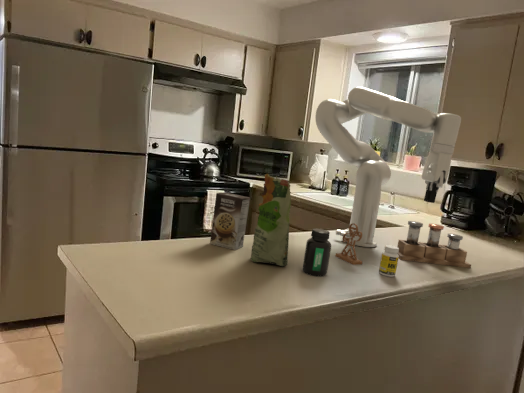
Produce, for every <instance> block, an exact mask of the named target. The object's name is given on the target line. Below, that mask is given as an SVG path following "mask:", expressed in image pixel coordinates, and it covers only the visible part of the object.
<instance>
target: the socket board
mask: <svg viewBox="0 0 524 393" xmlns="http://www.w3.org/2000/svg"><path fill="white" fill-rule="evenodd" d="M406 241H407V239H398V242H397V246H396V247H398V248H399V252H398V253H397V254H398V255H399V258H398V260H401V261H410V262H416V263H417V262H418V263H425V264H426V263H427V264H435V265H440V266H441V265H443V266H451V267H459V268H465V269H466V268H467V269H471V268H472V264H471V263H469V262H468V261H466V260H467V256H468V255H467V254H468V251H467V250H465V249H462V248H461V247H459V250H453V249H448V248H447V245H448V244H439V245H438V248H436V247H429V246H427V242H423V241H422V242H421V241H418V244H417V245H412V244H407V243H406Z"/></svg>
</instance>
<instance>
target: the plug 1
mask: <svg viewBox="0 0 524 393" xmlns="http://www.w3.org/2000/svg"><path fill="white" fill-rule="evenodd" d="M407 225H408V231H407V235H406V236H407V237H406V240H407V241H406V243H407V244H412V245H417V244H418V242H419V237H420V233H421V228H423V226H424V223H422V222H419V221H416V220H408V222H407Z"/></svg>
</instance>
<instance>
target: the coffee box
mask: <svg viewBox="0 0 524 393" xmlns="http://www.w3.org/2000/svg"><path fill="white" fill-rule="evenodd" d="M250 201H251V197H249V196H243V195H239V194H236V193H235V194H234V193H229V192H226V191H225V192H218V193H215V201H214V209H213V217H212V225H211V234H210V240H209V244H210V245H213V246H218V247H222V248H225V249H229V250H234V251H236V250H239V249H241V248H242V247H244V241H245V235H246V227H247V220H248V214H249V207H250Z"/></svg>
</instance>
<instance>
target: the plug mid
mask: <svg viewBox="0 0 524 393" xmlns="http://www.w3.org/2000/svg"><path fill="white" fill-rule="evenodd" d="M428 228H429V229H428V230H429V232H428V236H427V241H426V243H427V246H429V247H436V248H438V245H440V238H441V234H442V230H444V228H445V226H444V225H441V224H436V223H428Z"/></svg>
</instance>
